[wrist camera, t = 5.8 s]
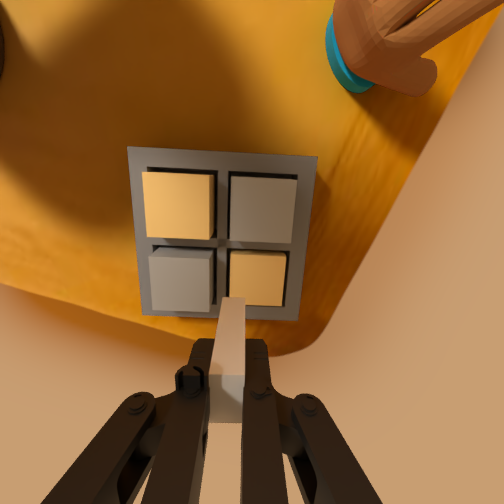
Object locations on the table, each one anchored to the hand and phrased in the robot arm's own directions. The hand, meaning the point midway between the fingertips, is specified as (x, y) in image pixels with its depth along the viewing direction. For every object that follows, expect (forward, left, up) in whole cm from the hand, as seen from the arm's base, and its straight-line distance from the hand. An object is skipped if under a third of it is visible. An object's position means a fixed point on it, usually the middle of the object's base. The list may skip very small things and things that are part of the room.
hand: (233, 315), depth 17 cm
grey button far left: (-6, -2, -13) cm, 14 cm away
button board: (-2, +2, -16) cm, 16 cm away
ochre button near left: (-6, +6, -13) cm, 15 cm away
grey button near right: (+2, +6, -13) cm, 14 cm away
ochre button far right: (+2, -2, -15) cm, 15 cm away
